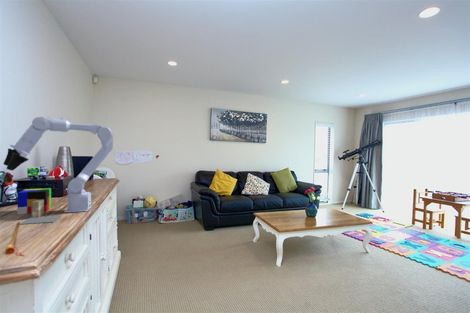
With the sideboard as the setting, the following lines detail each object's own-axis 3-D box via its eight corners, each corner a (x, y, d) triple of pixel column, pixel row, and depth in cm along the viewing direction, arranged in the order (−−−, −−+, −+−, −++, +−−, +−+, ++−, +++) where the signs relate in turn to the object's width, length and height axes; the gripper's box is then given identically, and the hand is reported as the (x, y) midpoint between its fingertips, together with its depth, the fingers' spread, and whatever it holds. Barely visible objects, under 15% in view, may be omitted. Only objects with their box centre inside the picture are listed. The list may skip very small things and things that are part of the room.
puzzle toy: (17, 214, 103) (17, 192, 103) (25, 209, 112) (25, 189, 112) (45, 212, 108) (45, 191, 108) (50, 207, 117) (51, 188, 117)
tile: (43, 214, 104) (43, 199, 104) (38, 217, 99) (38, 201, 99) (37, 215, 103) (37, 199, 103) (31, 218, 98) (31, 202, 98)
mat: (60, 216, 101) (61, 216, 101) (53, 222, 93) (53, 221, 93) (30, 218, 98) (30, 217, 98) (19, 224, 90) (19, 223, 90)
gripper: (14, 133, 103) (-7, 159, 100) (21, 139, 95) (-1, 167, 92) (32, 141, 109) (13, 166, 106) (40, 147, 100) (19, 174, 97)
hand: (7, 167), depth 99 cm, fingers open, 7 cm apart
